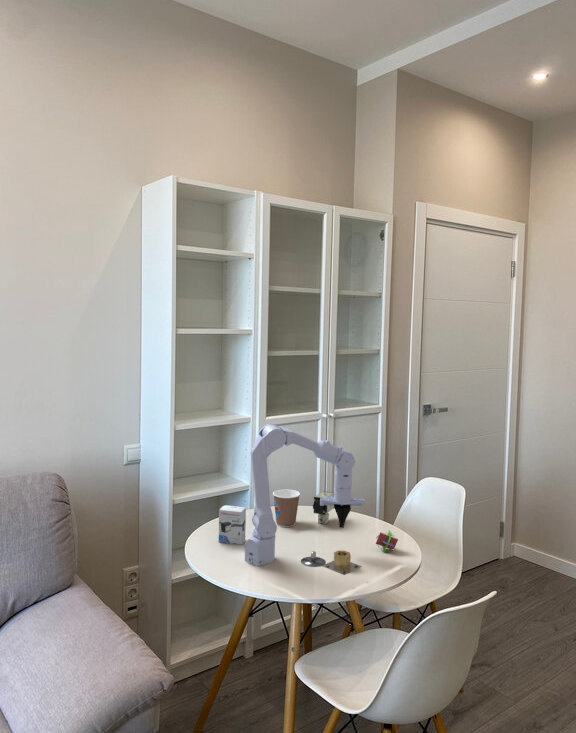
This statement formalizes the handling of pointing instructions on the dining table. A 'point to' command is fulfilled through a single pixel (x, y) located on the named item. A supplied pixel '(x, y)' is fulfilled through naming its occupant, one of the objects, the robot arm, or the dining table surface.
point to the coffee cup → (286, 507)
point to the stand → (313, 561)
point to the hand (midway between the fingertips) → (341, 526)
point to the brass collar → (342, 559)
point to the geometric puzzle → (386, 540)
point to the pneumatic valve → (322, 507)
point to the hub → (342, 571)
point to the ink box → (232, 524)
